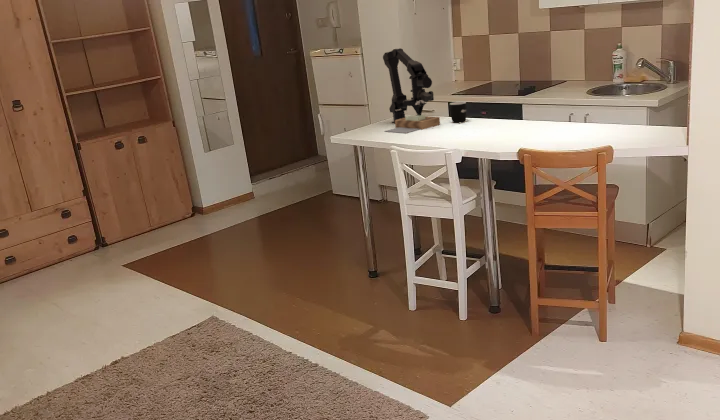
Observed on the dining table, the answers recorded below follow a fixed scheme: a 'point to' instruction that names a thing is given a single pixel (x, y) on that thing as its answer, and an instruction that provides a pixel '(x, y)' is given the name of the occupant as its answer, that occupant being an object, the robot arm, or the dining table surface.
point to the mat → (402, 130)
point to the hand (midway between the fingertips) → (419, 116)
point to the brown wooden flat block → (418, 123)
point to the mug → (458, 111)
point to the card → (415, 117)
